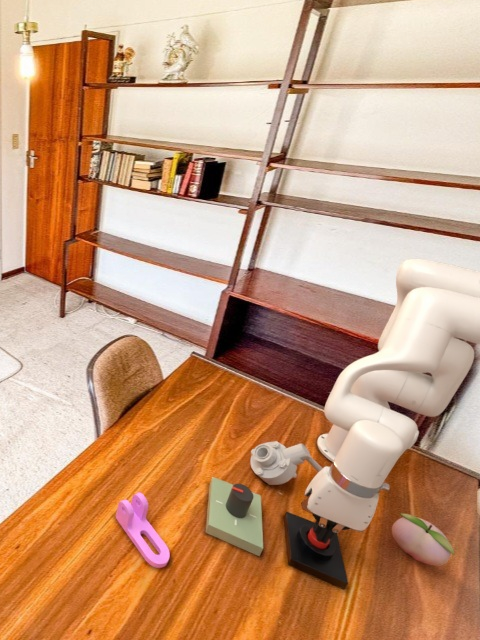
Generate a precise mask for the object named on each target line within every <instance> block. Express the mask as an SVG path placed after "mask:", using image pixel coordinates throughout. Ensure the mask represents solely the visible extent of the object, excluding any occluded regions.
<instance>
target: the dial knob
mask: <svg viewBox="0 0 480 640" xmlns="http://www.w3.org/2000/svg"><path fill="white" fill-rule="evenodd" d="M252 492H253V491H252V490H251V489H250V488H249V487H248V486H247V485H245V484H241V483H235V484H233V487H232V489H231V492H230V494H229V497H228V500H227V502H226V509H227V510H228V512H229V513H230V514H231V515H233V516H234V517H237V518H244V517H245V516H246V514H247V512H248V509H249V507H250V505H251V503H252V500H253V497H254V496H253V493H254V492H253V493H252Z"/></svg>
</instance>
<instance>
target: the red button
mask: <svg viewBox="0 0 480 640" xmlns="http://www.w3.org/2000/svg"><path fill="white" fill-rule="evenodd" d="M308 539H309V541H310V542H311V543H312V544H313V545H314V546H316V547H317V548H320V549H325V548H327V546H328V544H329V543H330V539H329V540H328V541H327V543H326V544H325V543H323V542H322V541H318V540H317V539H316V533H314V532H313V528H311V529H310V531H309V533H308Z"/></svg>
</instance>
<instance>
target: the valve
mask: <svg viewBox="0 0 480 640" xmlns="http://www.w3.org/2000/svg"><path fill="white" fill-rule="evenodd" d="M250 453H251V456H250V463H249V464H250V467H251V470H252V471H253V472H254V474H255V475H256V476H257V477H259V479H261V480H262V481H263V482H265V483H267V484H268V485H270V486H272V485H273V486H277V485H278V486H279V485H283V484H285V483H287V482H289V481H290V480H291V479H295V478H297V476H298V473H297V470H298V465H301V464H304V463H305V461H307V462H308V464H309V465H310V466H312V468H313V469H315V470H316V471H317V473H318V472H319V471H320V470H322V469H323V468H324V467H322V466H321V465H320V464H319V463H318V462H317V461H316V460H315V459H314V458H313V457H312V455H311V452H310V450H309V449H308V448H307V447H306V445H305V444H304V443H298V444H295V445H292V446H288V447H286V446H285V445H284V444H282V443H280V442H278V440H274V441H267V442H264V443H261V444H258V445H257V446H255V447H254V448H252V449H251V451H250Z"/></svg>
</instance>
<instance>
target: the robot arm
mask: <svg viewBox="0 0 480 640" xmlns="http://www.w3.org/2000/svg"><path fill="white" fill-rule="evenodd" d="M395 288H396V296H397V297H396V298H397V299H396V304H395V306H394V309H393V311H392V313H391V314H390V316H389V318H388V320H387V322H386V324H385V326H384V329H383V330H382V333H381V335H380V337H379V339H378V343H377V350H378V351H377V352H375V353H373V354H370V355H366V356H364V357H361V358H359V359H357V360H355V361H353V362H352V363H350V364H349V365H347V366H346V367H345V368H343V370H342V371H341V372H340V374H339V375H338V377H337V379H336V381H335V383H334V385H333V387H332V388H331V390H330V393H329V395H328V397H327V399H326V401H325V405H324V409H323V414H324V417H325V418H326V420H327V421H328V422H329V423H331V424H332V426H331V428H330V429H329V432H328V433H323V434H321V435H319V436H318V438H317V440H316V445H317V449H318V450H319V451H320V453H321V454H322V455H323V456H324V457H325V458H326V459H327V460H329V461H330V462H331V465H330V466H327V465H326V466H324V467H322V468H323V469H322V470H320V471H319V472H318V471H317V473H316V474H315V475H314V477H313V478H312V479H311V480H310V482H309V484H308V485H307V487H306V488H305V490H304V497H306V498H304V500H303V501H301V502H300V505H301V510H303V511H305V512H306V513H308V514H310V515H312V516H313V518H314V520H315V521H314V522H315V524H314V526H313V532H314V533H316V539H317V540H318V541H322V542H323V543H325V544H326V543H327V541H328V540H329V539H331V538H332V537H333V535H334V533H337V534H339V533H340V532H341V531H349V530H351V531H355V532H359V533H364V530H367V528H368V527H369V526H370V524H371V522H372V520H373V518H374V516H375V513H376V510H377V507H378V503H379V498H380V491H386V492H389V490H390V484H389V483H388V482H385V480H386V479H387V477H388V476H389V474H390V473H391V471H392V470H393V468H394V467H395V465H396V463H397V461H398V460H399V459H400V458H401V456H402V455H403V454H404V453H405V451H407V450H410V448H412V447H413V446H414V445H415V444H416V442H417V441H418V437H419V434H420V431H419V429H418V425H417V423H416V421H414V420H413V419H412V418H410V417H409V416H407V415H405V414H402V413H400V412H399V411H398V412H397V411H395V410H393V409H391V406H390V404H389V403H391V404H394V405H397V406H400V407H402V408H404V409H406V410H409V411H411V412H414V413H416V414H419V415H422V416H425V417H431V418H433V417H437V416H440V415H441V414H442V413H443V412H444V411H445V409H446V408H447V407H448V405H449V404H450V403H451V401H452V399H453V397H454V396H455V394H456V392H457V391H458V389H459V388H460V386H461V385H462V383H463V381H464V380H465V378H466V377H467V375H468V373H469V371H470V370H471V368H472V366H473V363H474V359H475V349H474V348H473V346H472V345H471V344H469V343H468V342H470V343H474V344H477V345H480V270H476V269H471V268H467V267H463V266H460V265H455V264H450V263H446V262H441V261H437V260H431V259H424V258H409V259H406V260H404V261H402V262H401V263H400V265H399V267H398V268H397V272H396V276H395ZM426 373H427V374H426ZM429 374H430V375H429Z"/></svg>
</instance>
